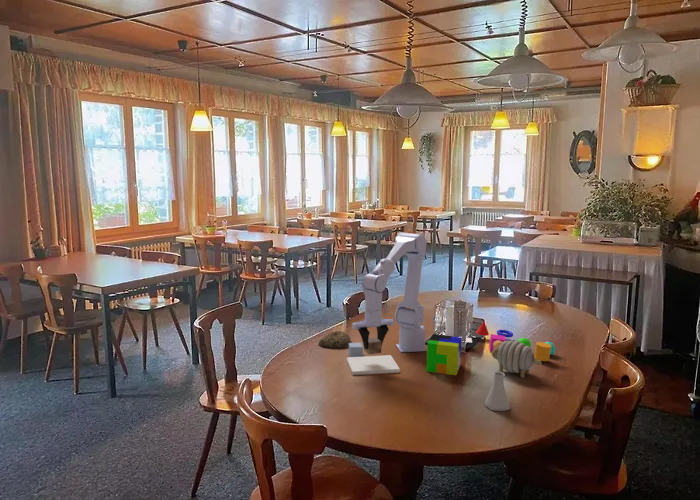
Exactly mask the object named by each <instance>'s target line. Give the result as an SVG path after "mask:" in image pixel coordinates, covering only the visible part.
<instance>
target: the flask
mask: <svg viewBox="0 0 700 500" xmlns="http://www.w3.org/2000/svg"><path fill="white" fill-rule="evenodd" d="M493 376H494V378H493V382H492V386H491V387H490V389H489V390H490V391H489V393H488V395H487V397H486V399H485V401H484V406H485V407H486V408H488V409H490V410H491V411H496V412H505V411H509V410H511V407H510V402H509V399H508V396H507V392H506V389H505V384H504V378H505V376H506V374H505V373H504V372H499V371H493Z"/></svg>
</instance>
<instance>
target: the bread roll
mask: <svg viewBox="0 0 700 500" xmlns="http://www.w3.org/2000/svg"><path fill="white" fill-rule="evenodd" d="M349 343H352V341H351V337H350V336H349V334H347V333H346V332H344V331H341V330H339V331H338V330H335V331H330V332H329V333H327V334H326V335H324V337H322V338H320V340H319V342H318V346H320V347H323V348H332V349H347V348H349Z"/></svg>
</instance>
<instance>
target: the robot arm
mask: <svg viewBox="0 0 700 500" xmlns="http://www.w3.org/2000/svg"><path fill="white" fill-rule="evenodd" d="M394 239H395V240H394V245H393V247H392V249H391V250H390V251H389V253H388V255H387V256H386V258H382V259H380V261H379V262H378V263H377V264H376V266H375V267H374V268H373V270H372V271H371V272H370V273H367V274H365V275H364V276H363V278H362V280H361V281H362V282H361V287H362V289H363V295H364V299H365V301H364V319H363V320H360V321H357V322H356V321H355V322H352V324H351V327H352V330H353V331H357V330H358V333H359V335H360V337H361V340H362V341H361V342H362V343H363V345H362V346H363V349H364V348H365V349H368V338H370V337H369V336H370V330H368V328H376V334H377V335H376V336H377V337H376V338H377V339H379V340H380V341H381V348H382V347H383V343H384V340H385V338H386V335H387V334H388V332H389V327H388V326H390V327H391V326H392V327H393V326H394V324H395V323H394V322H395V321H396V323H397V326H399V328H398V329H399V331H398V332H399V336H398V337H399V339H398V340H399V341H398V343H396V344H395V346H396V347H397V349H398V350H399V351H400V353H412V352H415V353H417V352H425V351H426V329H425V326H424V325H423V323H424V322H425V313H424V310H425V309H424V306H423V305H422V304H421V302H420V301H419V292H420V284H421V275H422V267H423V259H424V257H426V251H427V243H428V242H427V241H428V240H427V238H426V237H425V235H424V234H423V233H421V234H419V233H413V232H412V233H411V232H410V233H409V232H403V231H401V232H399V233H398V234H397V236H395V238H394ZM403 255H406V257H407V258H408V259H407V260H408V262H407V270H406V280H405V285H404V287H405V288H404V297H403V300H401V301H400V302H399V303H397V307H396V310H395V313H394V319H395V320H394V319H392V318H383V316H382V315H383V292H384V290H385V289H386V287H387V283H388V279H389V277H390V276H391V275H392V273H393V272H394V271H395V269H396V266H395V264H396V263H397V262H398V261H399V260H400V259H401V258H402V257H403Z"/></svg>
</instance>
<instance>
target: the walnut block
mask: <svg viewBox="0 0 700 500" xmlns="http://www.w3.org/2000/svg"><path fill="white" fill-rule="evenodd" d="M363 351H365V353H367V354H368V355H375V354H382V347H381V341H380V340H379V339H377V337H369V338H368V349H365V348H364V347H363Z"/></svg>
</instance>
